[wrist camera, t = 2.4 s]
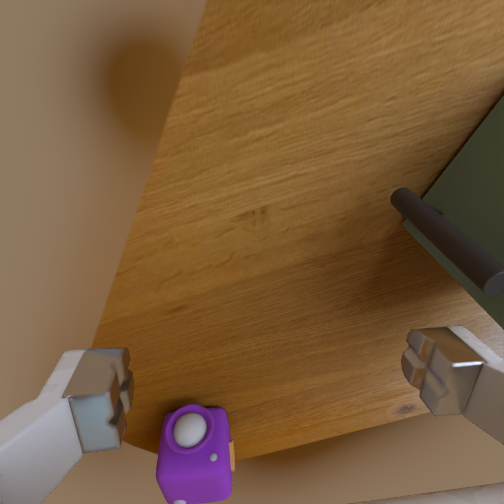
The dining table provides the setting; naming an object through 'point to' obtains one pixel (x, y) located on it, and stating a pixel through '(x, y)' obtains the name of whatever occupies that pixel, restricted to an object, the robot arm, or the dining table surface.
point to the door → (466, 215)
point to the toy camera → (195, 456)
